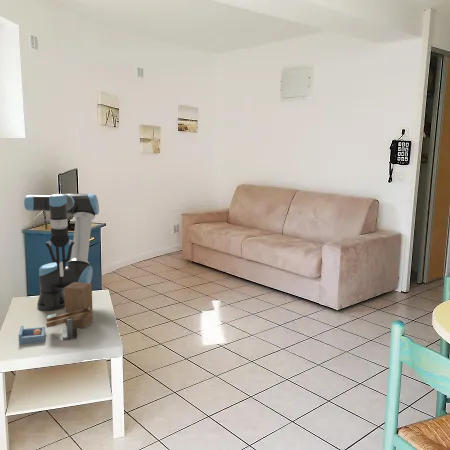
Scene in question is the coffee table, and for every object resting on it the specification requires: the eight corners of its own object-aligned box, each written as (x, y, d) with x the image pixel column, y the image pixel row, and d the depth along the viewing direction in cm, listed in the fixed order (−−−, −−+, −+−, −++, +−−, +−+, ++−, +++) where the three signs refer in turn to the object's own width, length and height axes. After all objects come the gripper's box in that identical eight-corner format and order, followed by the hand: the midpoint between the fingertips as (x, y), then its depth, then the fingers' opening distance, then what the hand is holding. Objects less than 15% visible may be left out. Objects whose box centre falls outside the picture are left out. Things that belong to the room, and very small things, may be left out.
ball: (37, 336, 218) (31, 331, 217) (43, 331, 218) (38, 326, 217) (36, 340, 214) (31, 334, 213) (43, 334, 215) (37, 329, 214)
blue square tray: (21, 335, 219) (20, 325, 218) (45, 332, 222) (44, 323, 221) (19, 344, 209) (18, 334, 208) (44, 341, 212) (43, 332, 211)
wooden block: (83, 329, 227) (82, 289, 223) (64, 327, 229) (63, 287, 225) (93, 321, 237) (92, 282, 233) (75, 319, 239) (73, 281, 235)
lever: (46, 328, 213) (45, 321, 213) (48, 317, 226) (46, 310, 225) (92, 316, 219) (90, 309, 218) (90, 306, 231) (89, 299, 230)
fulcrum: (63, 340, 214) (62, 321, 213) (63, 330, 225) (62, 312, 223) (77, 338, 216) (76, 319, 215) (76, 329, 226) (76, 311, 225)
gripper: (43, 229, 217) (46, 279, 222) (73, 228, 221) (76, 277, 226) (45, 226, 224) (47, 274, 229) (74, 225, 228) (76, 272, 233)
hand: (61, 275), depth 227 cm, fingers closed
